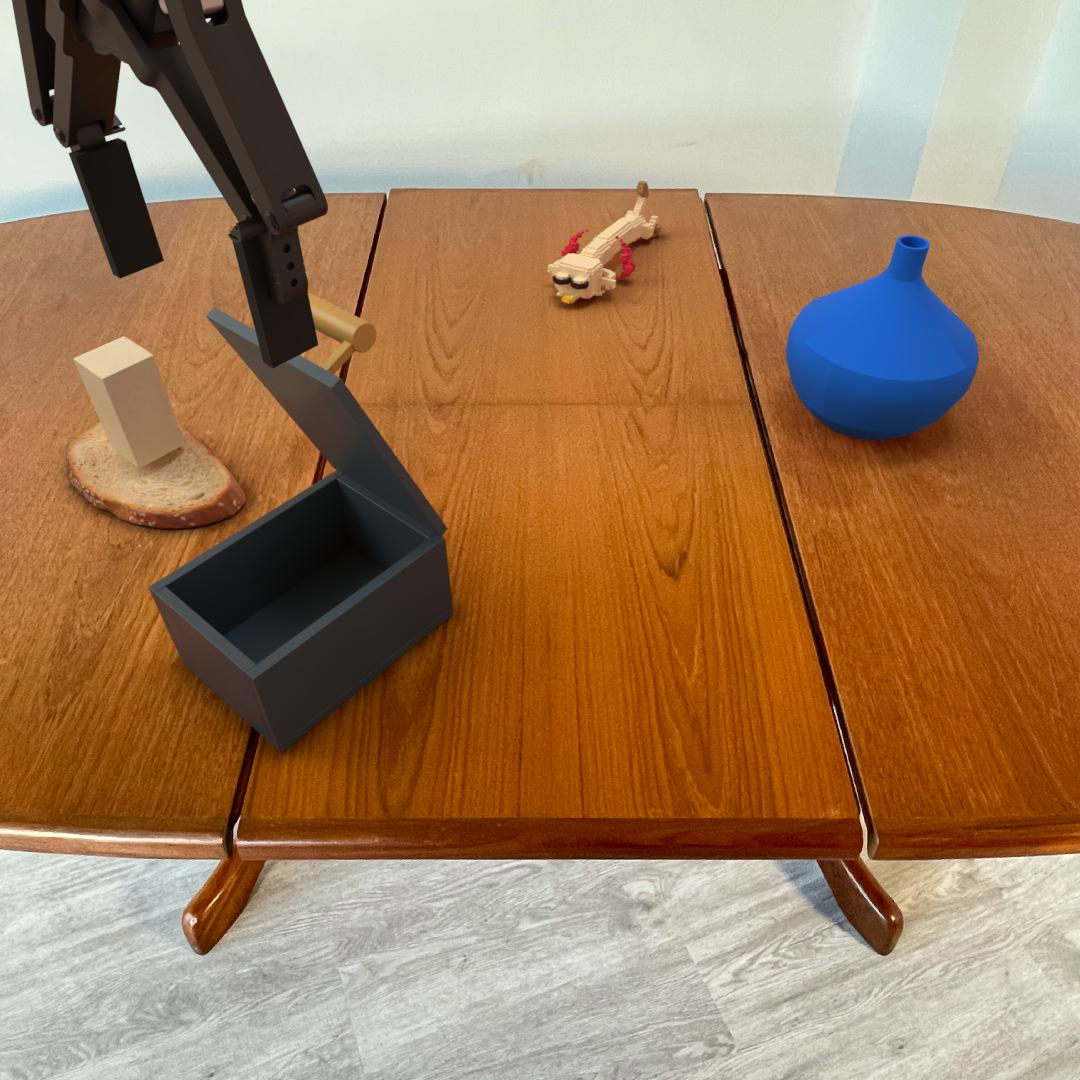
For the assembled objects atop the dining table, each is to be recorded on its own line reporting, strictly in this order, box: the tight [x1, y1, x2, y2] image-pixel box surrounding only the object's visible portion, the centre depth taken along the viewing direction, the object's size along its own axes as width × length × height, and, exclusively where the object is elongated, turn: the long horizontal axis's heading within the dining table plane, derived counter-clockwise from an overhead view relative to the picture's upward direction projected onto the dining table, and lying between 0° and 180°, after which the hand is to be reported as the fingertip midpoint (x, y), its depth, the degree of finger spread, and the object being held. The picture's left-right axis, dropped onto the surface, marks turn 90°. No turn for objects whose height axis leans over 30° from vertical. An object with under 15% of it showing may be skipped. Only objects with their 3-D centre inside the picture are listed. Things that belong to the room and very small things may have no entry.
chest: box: [147, 469, 454, 754], centre depth 69 cm, size 18×13×9 cm
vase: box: [785, 234, 980, 441], centre depth 87 cm, size 18×18×19 cm
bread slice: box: [64, 420, 247, 530], centre depth 86 cm, size 18×18×4 cm
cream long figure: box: [547, 180, 663, 305], centre depth 115 cm, size 10×9×25 cm
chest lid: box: [205, 292, 449, 537], centre depth 63 cm, size 19×13×6 cm
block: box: [72, 335, 185, 468], centre depth 81 cm, size 5×5×10 cm
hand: (210, 308), depth 46 cm, fingers open, 13 cm apart
